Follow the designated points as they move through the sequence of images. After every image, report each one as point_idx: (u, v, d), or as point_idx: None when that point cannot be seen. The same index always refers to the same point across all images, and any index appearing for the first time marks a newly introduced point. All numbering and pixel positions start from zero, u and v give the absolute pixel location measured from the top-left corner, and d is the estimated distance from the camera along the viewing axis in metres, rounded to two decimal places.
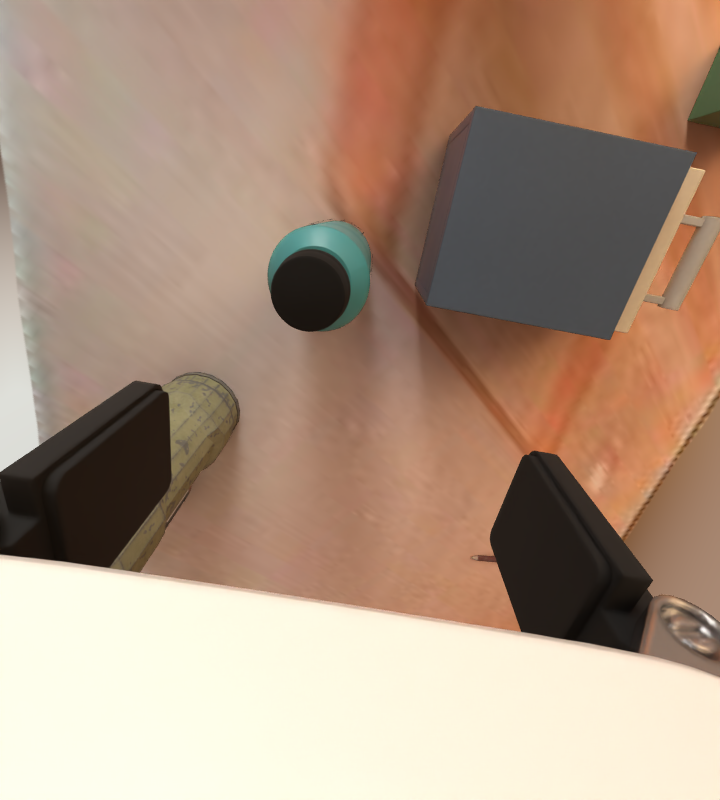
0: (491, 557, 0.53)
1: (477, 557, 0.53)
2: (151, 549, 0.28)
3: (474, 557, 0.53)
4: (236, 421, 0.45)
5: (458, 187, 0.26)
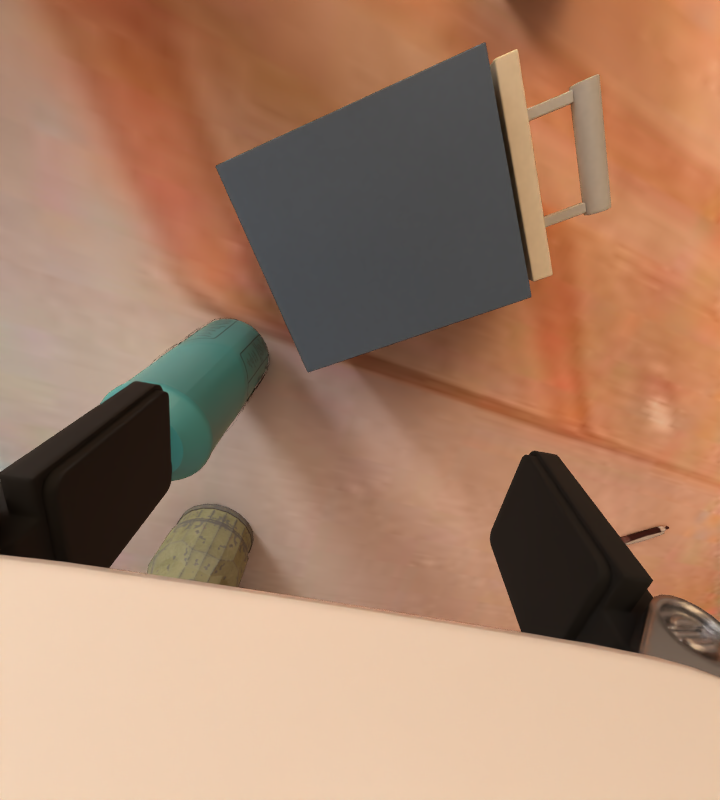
0: None
1: None
2: None
3: None
4: (249, 533, 0.44)
5: (255, 249, 0.23)
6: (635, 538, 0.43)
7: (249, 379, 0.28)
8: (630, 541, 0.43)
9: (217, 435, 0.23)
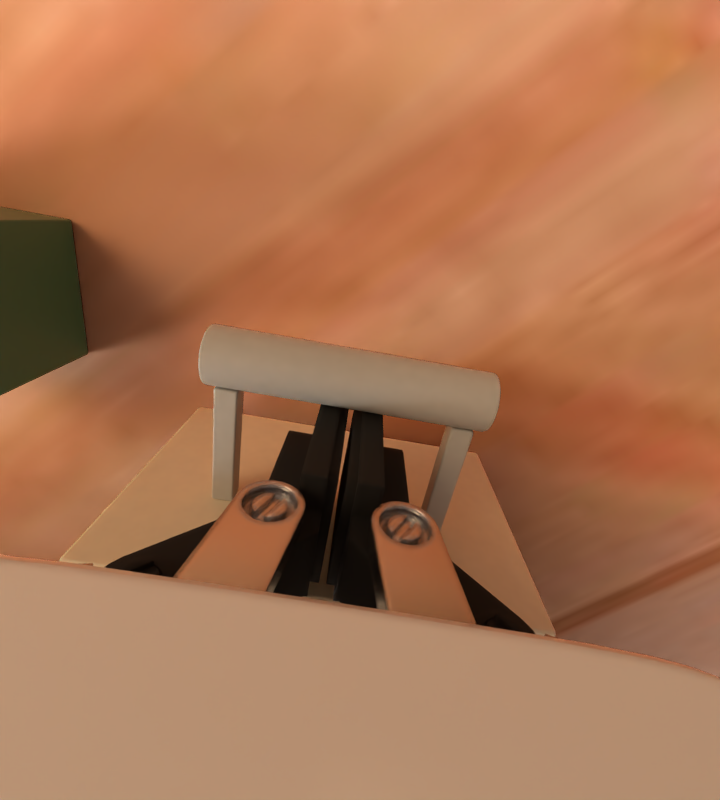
0: None
1: None
2: None
3: None
4: None
5: None
6: None
7: None
8: None
9: None
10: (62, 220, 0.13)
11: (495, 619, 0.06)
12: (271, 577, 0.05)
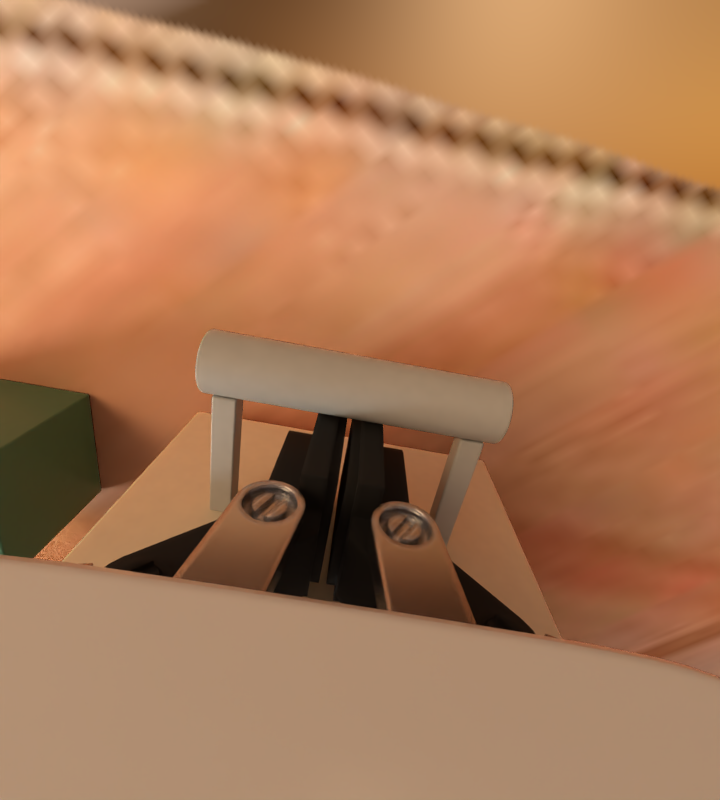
0: None
1: None
2: None
3: None
4: None
5: None
6: None
7: None
8: None
9: None
10: (81, 398, 0.16)
11: (495, 619, 0.06)
12: (271, 577, 0.05)
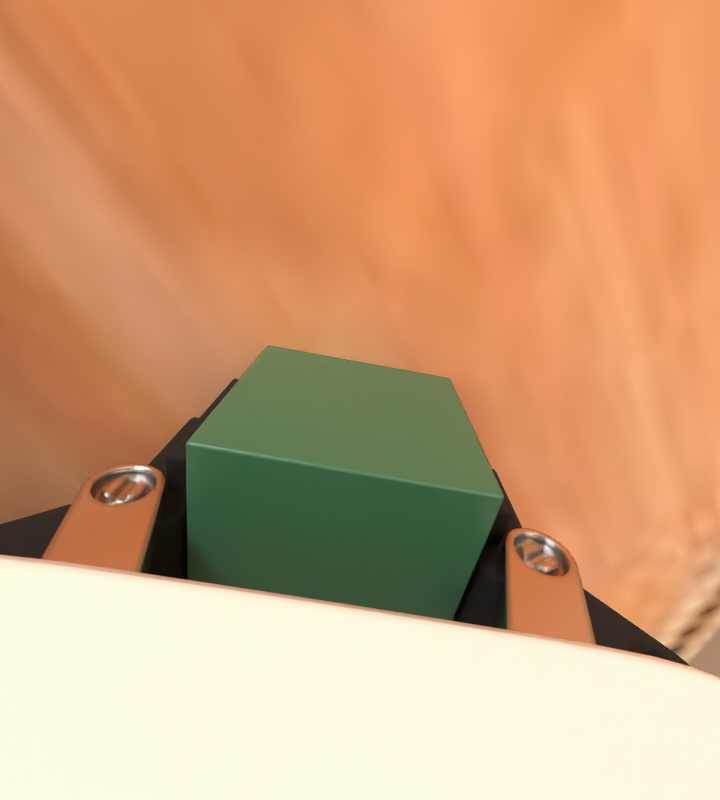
0: None
1: None
2: None
3: None
4: None
5: None
6: None
7: None
8: None
9: None
10: None
11: (653, 654, 0.06)
12: (146, 549, 0.05)
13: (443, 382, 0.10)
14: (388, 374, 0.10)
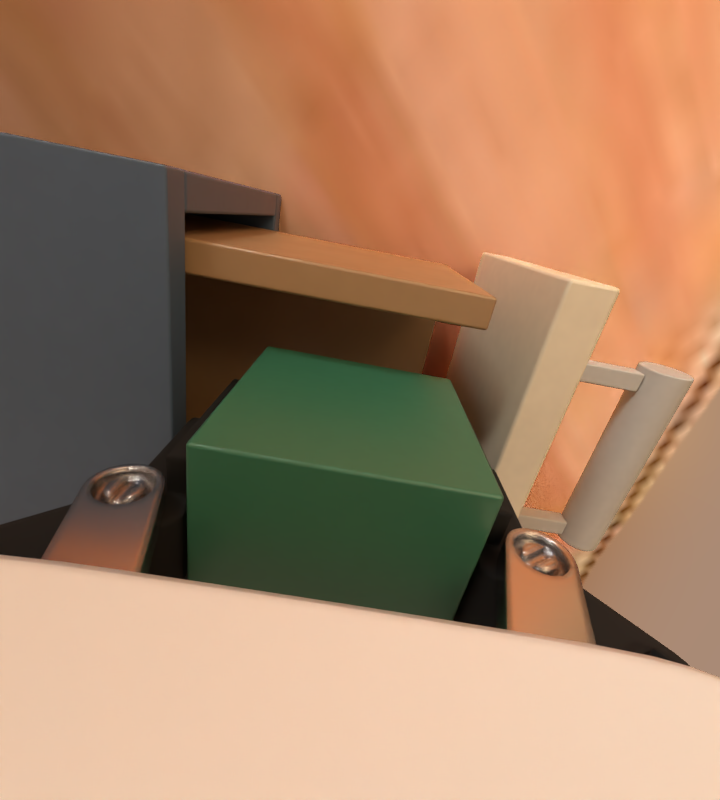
0: None
1: None
2: None
3: None
4: None
5: None
6: None
7: None
8: None
9: None
10: None
11: (653, 654, 0.06)
12: (146, 549, 0.05)
13: (443, 383, 0.10)
14: (388, 374, 0.10)
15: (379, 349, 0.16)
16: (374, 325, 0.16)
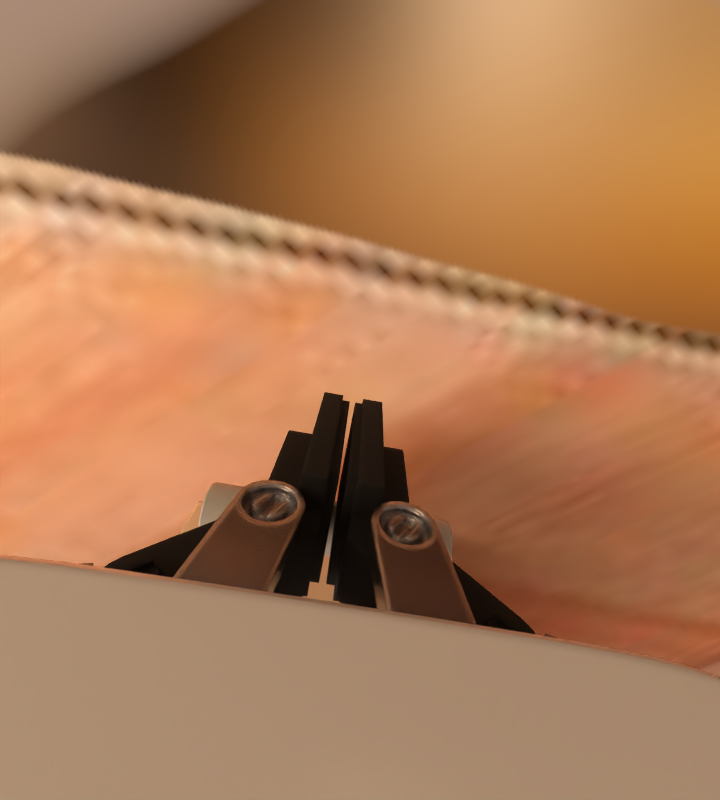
0: None
1: None
2: None
3: None
4: None
5: None
6: None
7: None
8: None
9: None
10: None
11: (495, 619, 0.06)
12: (271, 577, 0.05)
13: None
14: None
15: None
16: None
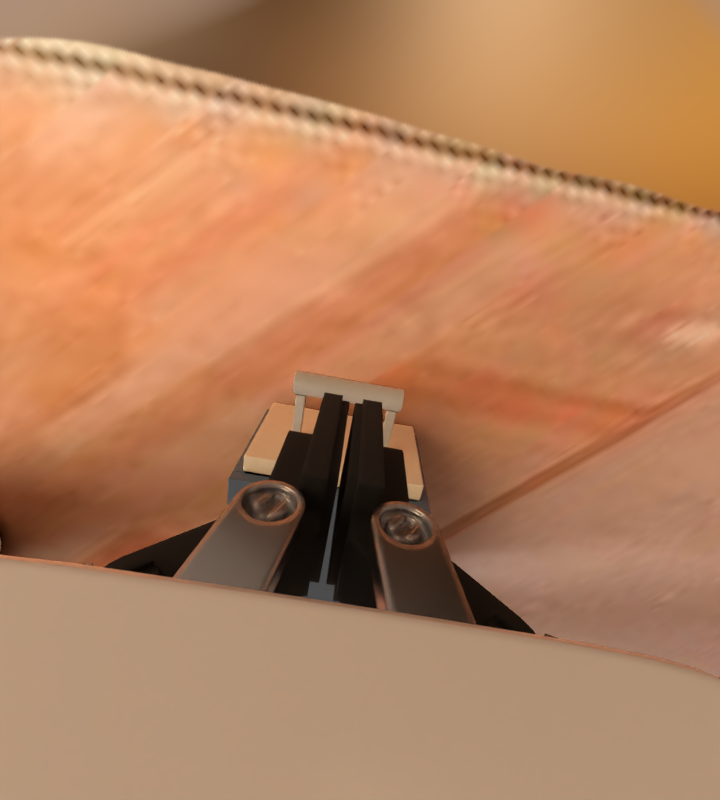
0: None
1: None
2: None
3: None
4: None
5: None
6: None
7: None
8: None
9: None
10: None
11: (495, 619, 0.06)
12: (271, 577, 0.05)
13: None
14: None
15: None
16: None
